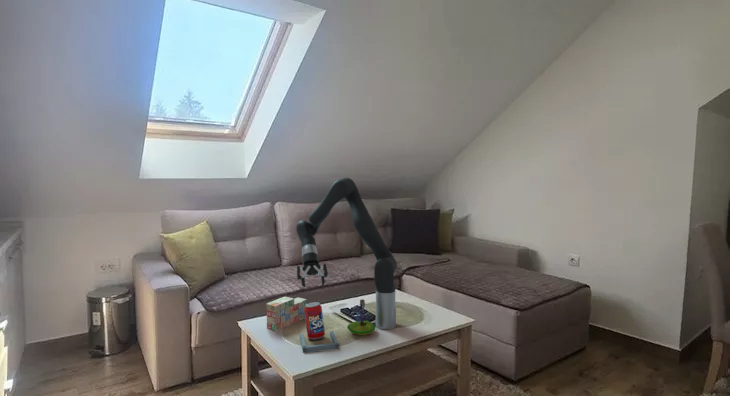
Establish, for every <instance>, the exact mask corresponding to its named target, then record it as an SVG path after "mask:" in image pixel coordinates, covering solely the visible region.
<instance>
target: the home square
mask: <svg viewBox="0 0 730 396" xmlns="http://www.w3.org/2000/svg"><path fill="white" fill-rule="evenodd" d="M304 336H305V335H304V334H303V333H300V334H299V341H300V344H301V348H302V349H301V350H302V353H312V352H313V353H314V352H320V351H321V352H322V351H328V350H329V351H330V350H339V349H340V343H339V341H338V339H337V337H336V333H335V332H334V330H331V331H329V336H330V340H331V343H323V344H321V343H319V344H313V345H307V344H306V340H305V337H304Z"/></svg>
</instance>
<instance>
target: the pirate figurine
mask: <svg viewBox="0 0 730 396" xmlns="http://www.w3.org/2000/svg"><path fill="white" fill-rule="evenodd" d="M365 302H366V301H365V299H360V300H359V306H358V311H359V312H356V314H355V315H356V318H355V319H356V321H353V322H350V323H349V324H347V327H346V328H347V330H348V331H349V332H350V333H352V334H353V335H361V336H366V335H368V334H369V335H370V334H372V333H373V332H375V330H376V324H374V323H372V322H371V321H370V320H364V318H363V313H364V310H365V307H366V303H365ZM358 317H359V319H358Z"/></svg>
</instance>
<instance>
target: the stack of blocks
mask: <svg viewBox="0 0 730 396" xmlns="http://www.w3.org/2000/svg"><path fill="white" fill-rule="evenodd" d="M306 304H308V299H306V298H302V297H296V298H293V297H288V296H283V297H280V298H278V299H274V300H272V301H269V302H267V303H266V304H265V305H266V307H265V308H266V329H269V330H272V331H274V332H277V331H279V330H282V329H284V328H287V327H288V326H291V325H292V324H295V323H297V322H299V321H301V320H304V319H305V313H304V308H305V305H306Z"/></svg>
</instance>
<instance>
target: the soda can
mask: <svg viewBox="0 0 730 396" xmlns="http://www.w3.org/2000/svg"><path fill="white" fill-rule="evenodd" d="M304 313H305V318H304V319H305V321H304V322H305V329H306V335H307V338H308V340H309V339H310V340H313V341H314V340H320V339H321V338H324V336H326V331H325V322H324V313H323V307H322V305H321V303H320V302H318V301H312V302H309V303H308V302H307V304H306V305H305V308H304Z"/></svg>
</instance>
